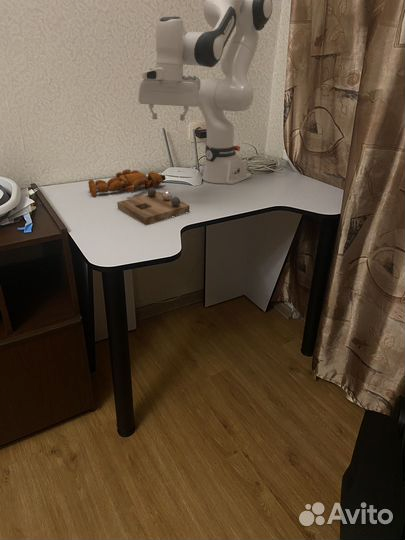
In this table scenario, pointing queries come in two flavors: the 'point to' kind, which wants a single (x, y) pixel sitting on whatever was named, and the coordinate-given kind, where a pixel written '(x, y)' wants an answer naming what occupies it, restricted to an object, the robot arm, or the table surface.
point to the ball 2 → (175, 201)
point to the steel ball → (166, 195)
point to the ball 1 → (151, 191)
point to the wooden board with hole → (151, 208)
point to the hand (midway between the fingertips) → (168, 119)
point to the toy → (126, 181)
